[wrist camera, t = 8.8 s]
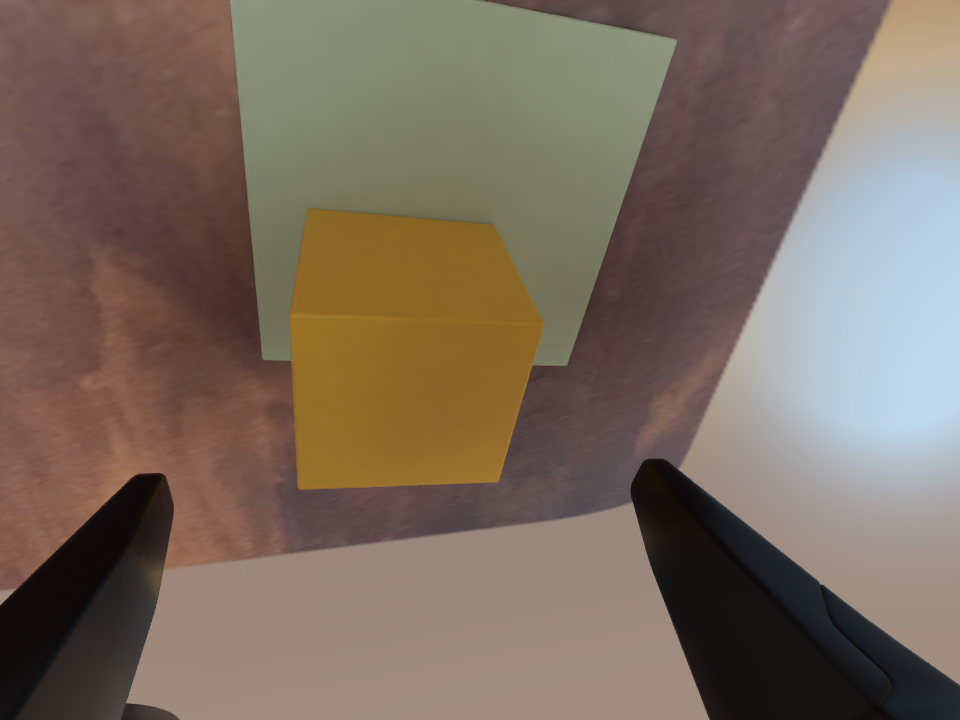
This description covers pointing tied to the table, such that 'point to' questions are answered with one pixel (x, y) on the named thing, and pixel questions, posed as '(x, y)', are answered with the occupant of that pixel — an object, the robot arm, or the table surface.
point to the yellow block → (406, 351)
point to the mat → (442, 134)
